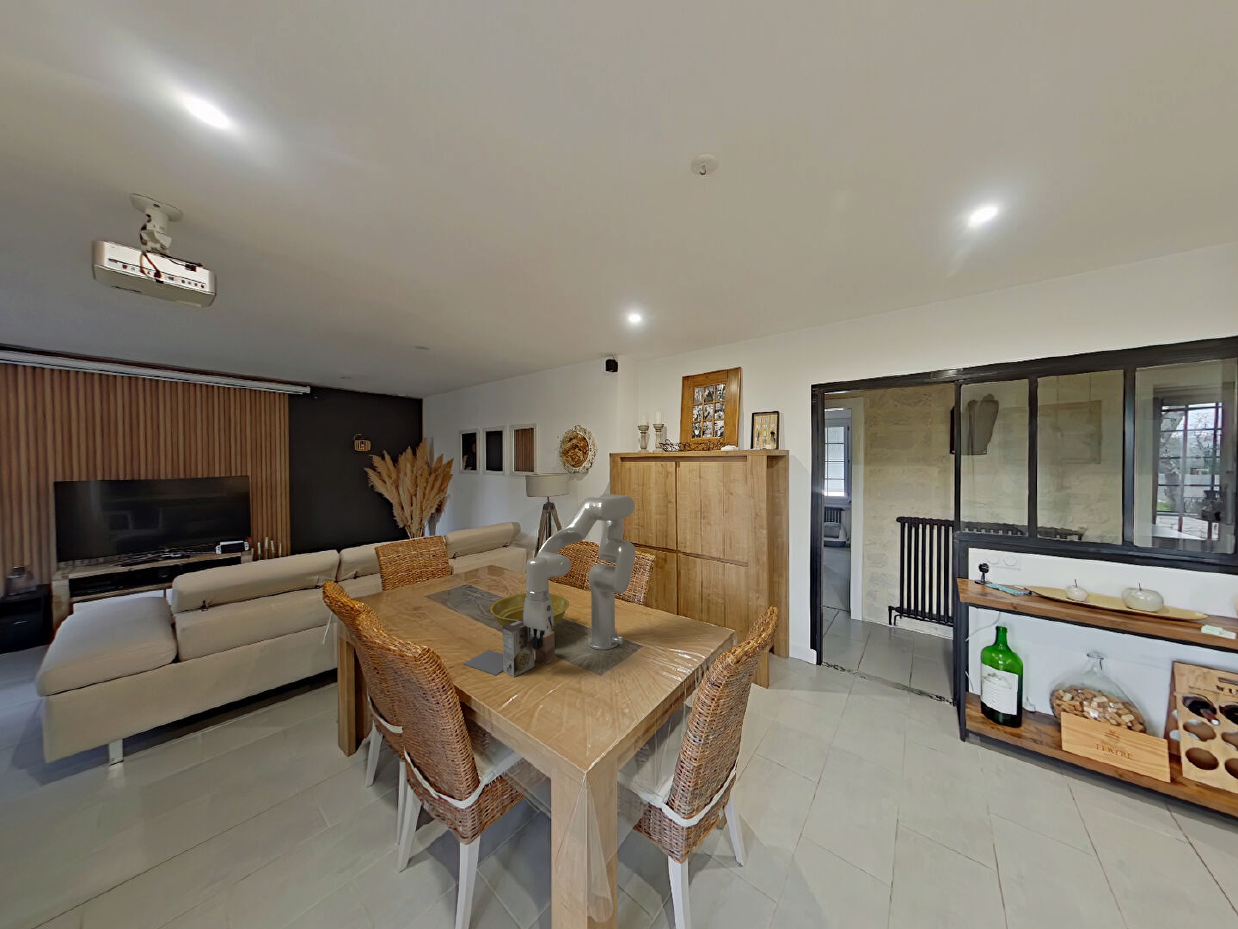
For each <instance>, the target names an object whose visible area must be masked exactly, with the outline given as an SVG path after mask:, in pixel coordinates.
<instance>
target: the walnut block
mask: <svg viewBox="0 0 1238 929" xmlns="http://www.w3.org/2000/svg"><path fill="white" fill-rule="evenodd" d="M555 644H556V643H555V631H551V633H549V634H544V635H543V646H542V647H541V648H539V649H538V650H536V649H534V663H536V662H537V663H540V664H543V665H548V664H550V663H551V662H552V661H554V660H555V653H556V652H555V651H556V648H555Z"/></svg>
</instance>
